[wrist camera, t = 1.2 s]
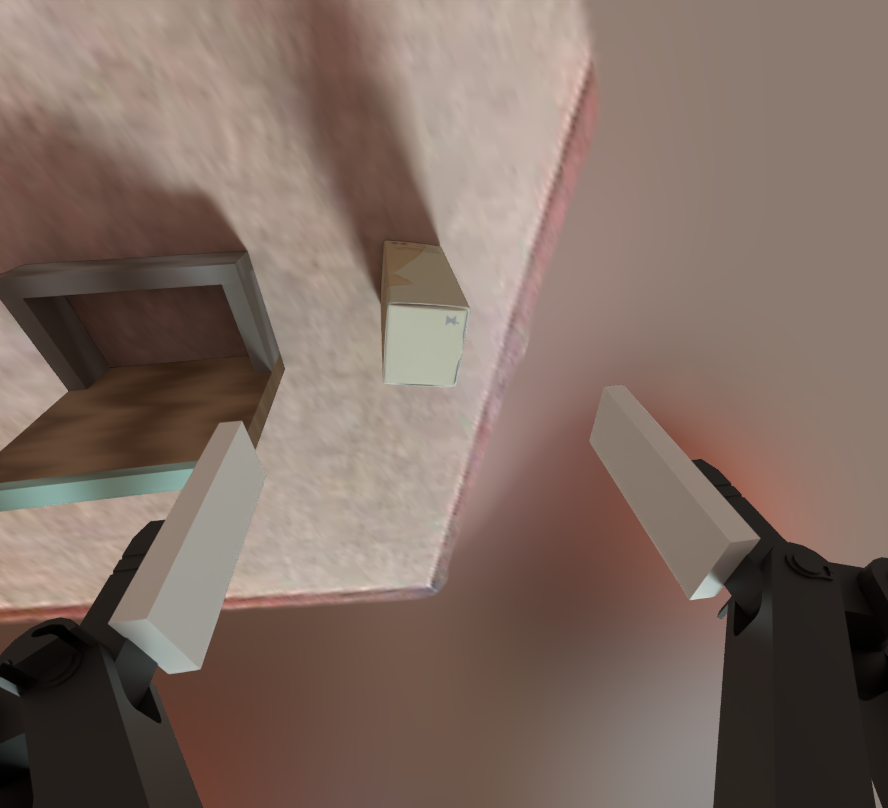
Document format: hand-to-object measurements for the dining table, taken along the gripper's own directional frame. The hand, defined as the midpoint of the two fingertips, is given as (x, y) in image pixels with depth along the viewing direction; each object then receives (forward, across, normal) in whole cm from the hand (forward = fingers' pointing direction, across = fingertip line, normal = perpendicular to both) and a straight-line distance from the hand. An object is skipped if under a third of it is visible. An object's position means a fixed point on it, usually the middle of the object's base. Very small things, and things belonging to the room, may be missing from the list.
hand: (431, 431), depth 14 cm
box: (+18, 0, 0) cm, 18 cm away
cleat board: (+18, -18, -2) cm, 25 cm away
